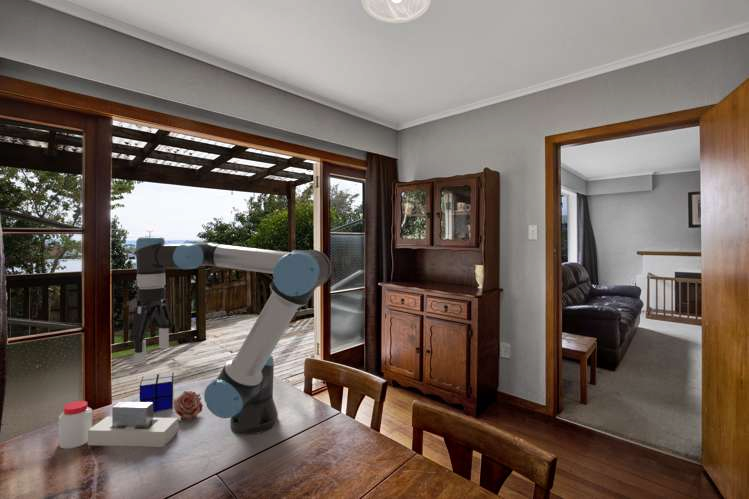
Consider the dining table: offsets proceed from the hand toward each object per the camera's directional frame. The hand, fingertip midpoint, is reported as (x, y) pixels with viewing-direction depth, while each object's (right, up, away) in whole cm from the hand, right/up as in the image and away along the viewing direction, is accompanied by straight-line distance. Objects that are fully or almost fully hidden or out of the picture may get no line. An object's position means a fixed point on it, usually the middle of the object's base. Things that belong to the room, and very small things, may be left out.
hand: (153, 355), depth 114 cm
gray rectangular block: (-5, -24, -2) cm, 25 cm away
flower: (+5, -25, +11) cm, 28 cm away
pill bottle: (-20, -25, -4) cm, 32 cm away
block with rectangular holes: (-4, -25, -2) cm, 25 cm away
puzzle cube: (-10, -24, +19) cm, 32 cm away
